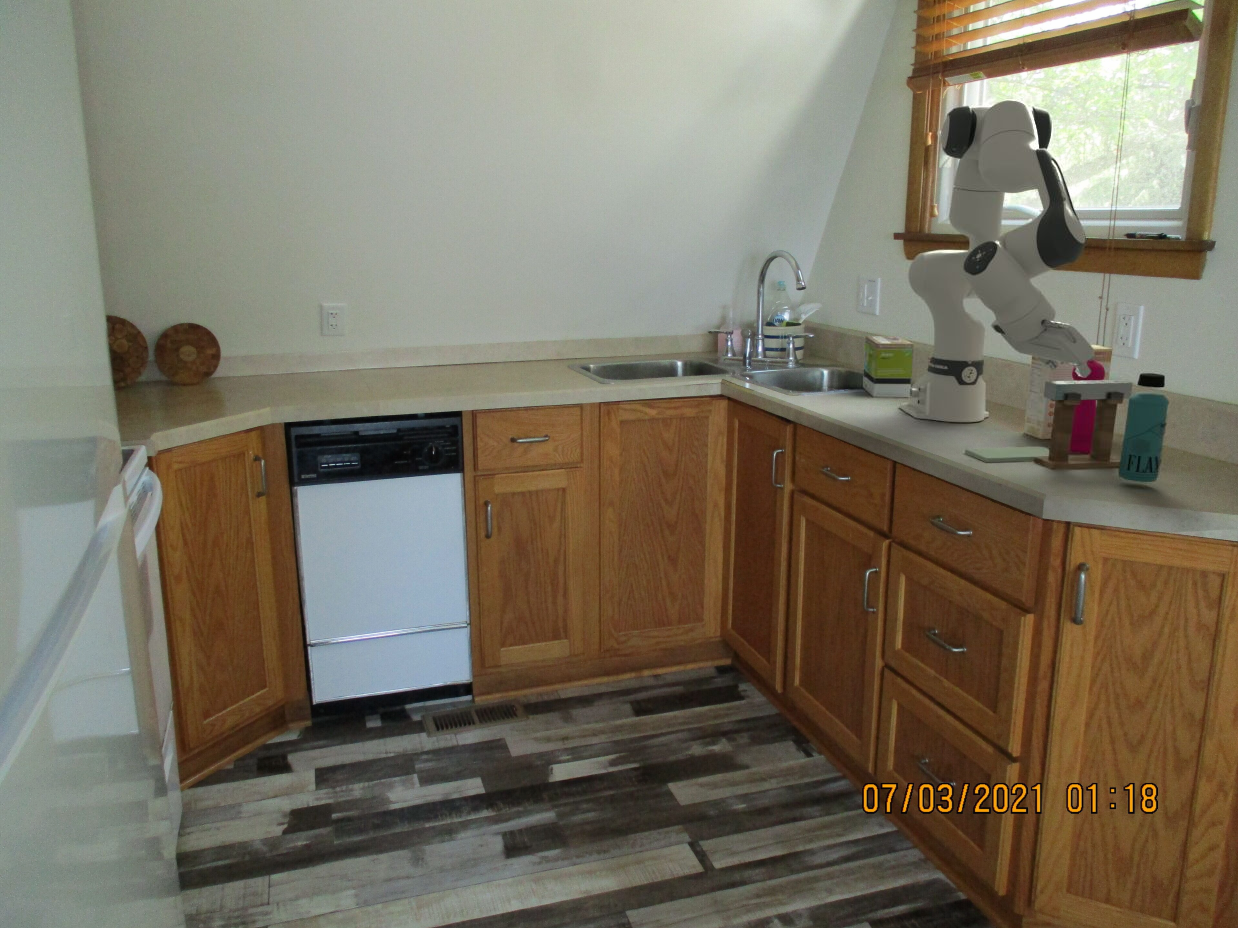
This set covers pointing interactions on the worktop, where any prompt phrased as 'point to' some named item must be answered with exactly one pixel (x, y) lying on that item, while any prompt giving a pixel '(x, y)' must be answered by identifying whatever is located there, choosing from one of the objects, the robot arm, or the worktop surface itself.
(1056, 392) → the rail
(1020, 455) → the mat
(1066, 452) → the stand
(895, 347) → the tea box
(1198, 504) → the worktop surface
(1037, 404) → the coffeecake box
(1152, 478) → the beverage bottle
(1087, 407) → the pepper mill
